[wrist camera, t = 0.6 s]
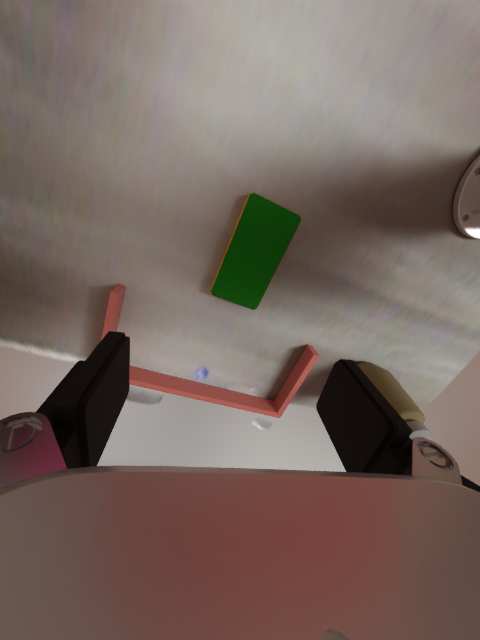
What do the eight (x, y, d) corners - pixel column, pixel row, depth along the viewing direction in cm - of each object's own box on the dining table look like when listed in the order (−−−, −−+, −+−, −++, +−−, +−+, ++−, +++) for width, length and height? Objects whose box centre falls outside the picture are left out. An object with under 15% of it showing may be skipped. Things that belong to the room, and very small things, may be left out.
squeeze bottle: (341, 394, 48) (404, 493, 32) (337, 363, 44) (406, 457, 28) (381, 383, 48) (465, 478, 32) (381, 350, 44) (476, 439, 28)
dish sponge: (210, 288, 36) (210, 294, 34) (248, 191, 31) (251, 191, 29) (253, 304, 38) (255, 310, 36) (296, 215, 33) (302, 217, 31)
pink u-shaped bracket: (312, 346, 42) (319, 356, 39) (276, 405, 48) (279, 417, 45) (118, 284, 34) (110, 291, 32) (102, 364, 40) (94, 376, 37)
